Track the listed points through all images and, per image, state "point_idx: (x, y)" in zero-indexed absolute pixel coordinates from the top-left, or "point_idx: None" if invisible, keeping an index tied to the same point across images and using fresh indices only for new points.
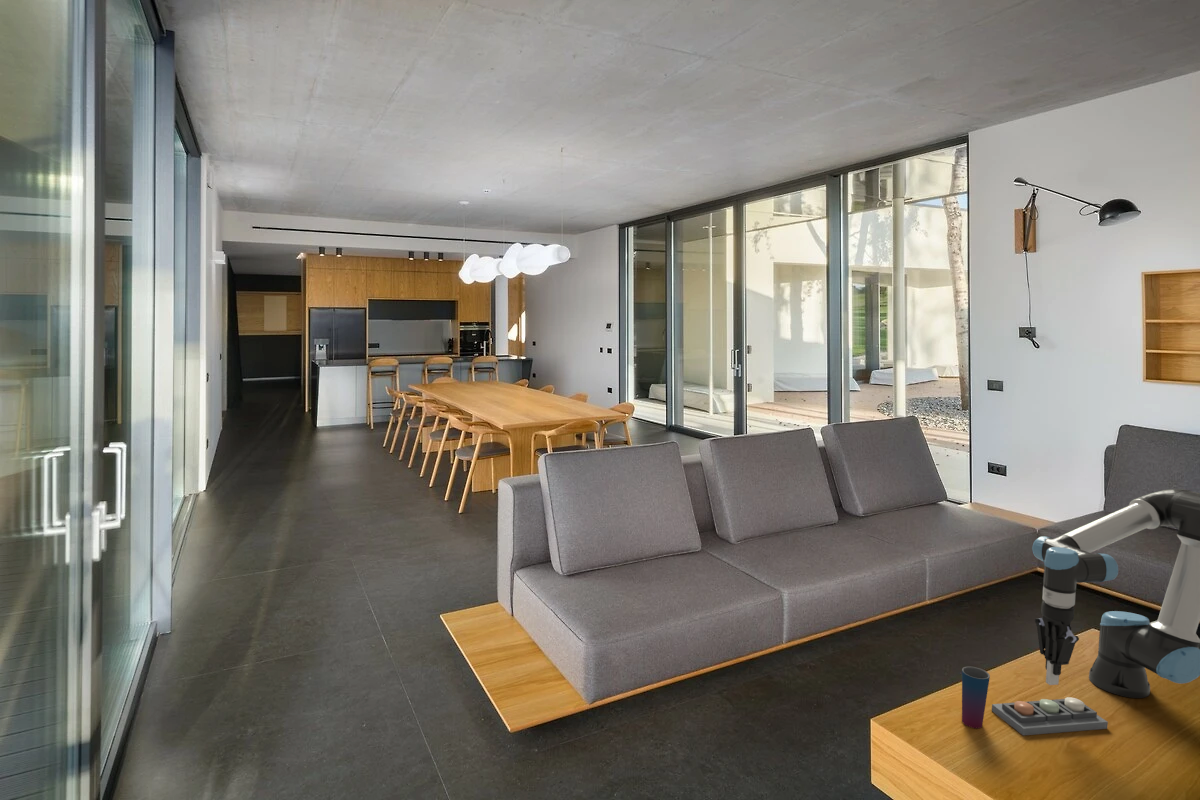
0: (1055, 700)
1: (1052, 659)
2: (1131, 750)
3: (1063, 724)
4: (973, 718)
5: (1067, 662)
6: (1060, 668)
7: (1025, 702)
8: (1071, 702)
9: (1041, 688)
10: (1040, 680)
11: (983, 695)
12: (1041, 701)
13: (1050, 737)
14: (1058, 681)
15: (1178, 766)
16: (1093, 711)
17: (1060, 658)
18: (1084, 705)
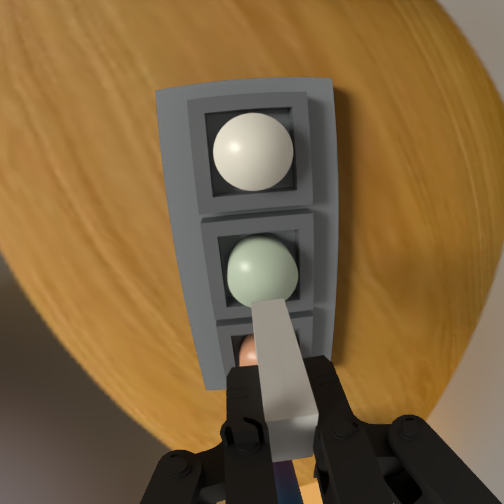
0: (205, 204)
1: (322, 480)
2: (426, 117)
3: (333, 259)
4: None
5: (426, 438)
6: (342, 395)
7: (251, 356)
8: (259, 172)
9: (58, 140)
10: (20, 116)
11: (299, 489)
12: (246, 300)
13: (345, 305)
14: (286, 309)
15: (473, 70)
16: (298, 100)
17: (409, 496)
18: (249, 101)
